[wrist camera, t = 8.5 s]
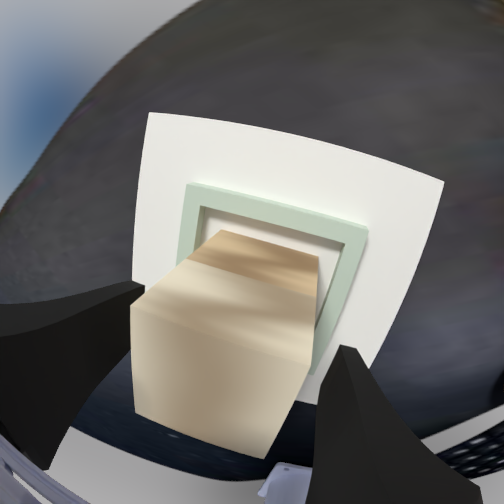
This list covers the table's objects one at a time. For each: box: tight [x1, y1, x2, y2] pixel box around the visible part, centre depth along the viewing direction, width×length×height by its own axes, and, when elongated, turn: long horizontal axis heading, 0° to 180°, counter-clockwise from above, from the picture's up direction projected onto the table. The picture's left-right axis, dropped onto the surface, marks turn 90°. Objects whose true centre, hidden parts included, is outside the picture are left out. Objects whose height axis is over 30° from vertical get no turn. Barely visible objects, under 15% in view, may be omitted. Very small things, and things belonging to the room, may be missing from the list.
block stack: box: [130, 229, 319, 459], centre depth 11 cm, size 5×5×8 cm
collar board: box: [132, 112, 444, 405], centre depth 15 cm, size 14×14×2 cm
